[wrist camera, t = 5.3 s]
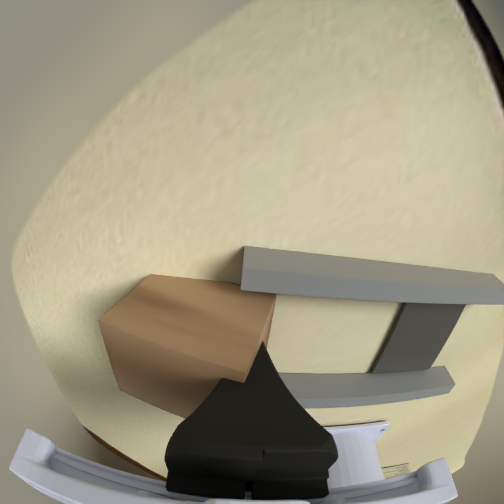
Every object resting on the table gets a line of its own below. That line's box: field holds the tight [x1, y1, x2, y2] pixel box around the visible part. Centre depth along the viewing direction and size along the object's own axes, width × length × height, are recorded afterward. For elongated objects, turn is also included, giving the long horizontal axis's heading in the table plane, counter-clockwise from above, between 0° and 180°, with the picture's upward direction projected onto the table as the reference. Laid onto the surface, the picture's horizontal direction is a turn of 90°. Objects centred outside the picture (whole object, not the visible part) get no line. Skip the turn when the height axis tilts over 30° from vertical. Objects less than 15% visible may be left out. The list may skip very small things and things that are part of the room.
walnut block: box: [99, 274, 276, 418], centre depth 12 cm, size 4×6×5 cm
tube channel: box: [241, 246, 504, 408], centre depth 14 cm, size 9×16×2 cm, turn 83°
